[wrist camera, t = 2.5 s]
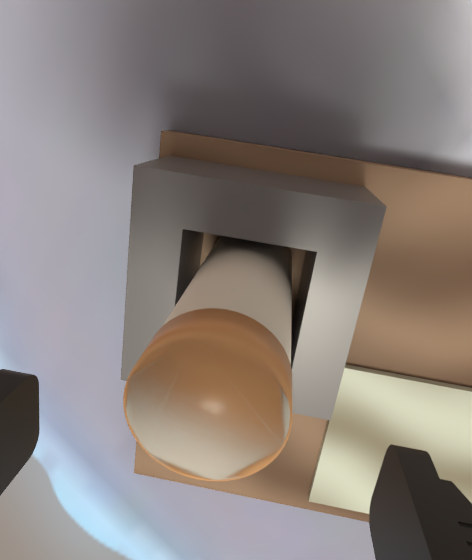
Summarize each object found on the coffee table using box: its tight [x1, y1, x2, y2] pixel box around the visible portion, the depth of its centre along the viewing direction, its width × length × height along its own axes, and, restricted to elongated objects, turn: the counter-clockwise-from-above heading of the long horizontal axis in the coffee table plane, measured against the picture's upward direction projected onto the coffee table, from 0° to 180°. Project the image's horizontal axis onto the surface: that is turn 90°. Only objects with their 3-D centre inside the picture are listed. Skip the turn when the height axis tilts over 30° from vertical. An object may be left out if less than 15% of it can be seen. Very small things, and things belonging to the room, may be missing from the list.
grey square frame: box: [121, 155, 387, 420], centre depth 20 cm, size 9×9×5 cm
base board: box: [134, 130, 472, 522], centre depth 24 cm, size 20×20×2 cm
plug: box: [123, 236, 292, 481], centre depth 16 cm, size 4×4×12 cm
